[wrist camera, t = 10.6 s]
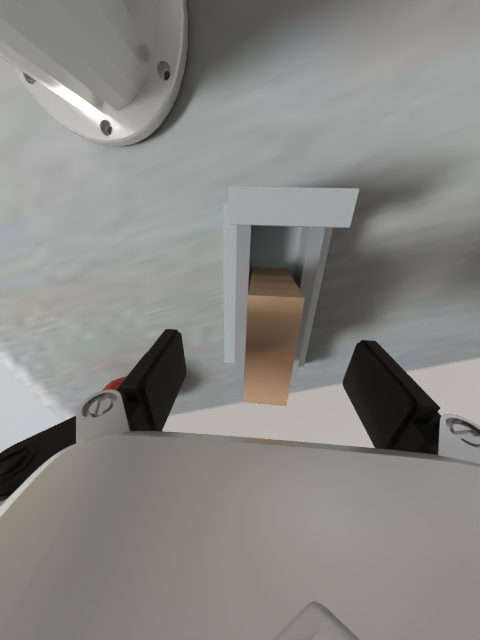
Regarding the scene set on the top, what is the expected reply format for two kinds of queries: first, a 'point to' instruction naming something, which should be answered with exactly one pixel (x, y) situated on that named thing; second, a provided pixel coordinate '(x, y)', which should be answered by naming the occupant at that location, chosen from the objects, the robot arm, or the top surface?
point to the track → (277, 252)
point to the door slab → (271, 335)
